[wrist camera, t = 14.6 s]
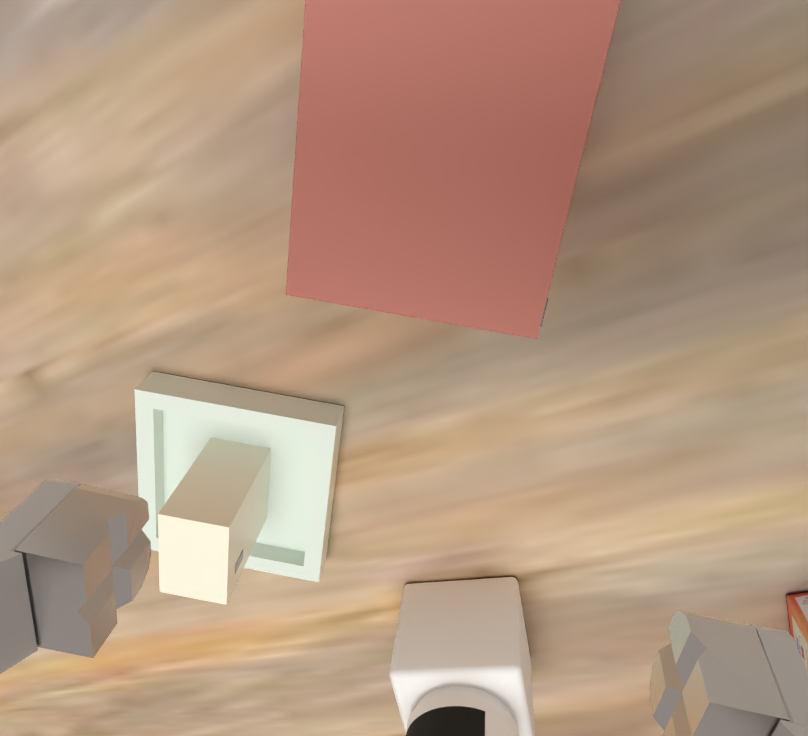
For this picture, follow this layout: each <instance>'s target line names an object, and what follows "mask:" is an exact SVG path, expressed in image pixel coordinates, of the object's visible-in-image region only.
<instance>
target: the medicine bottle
mask: <svg viewBox="0 0 808 736" xmlns="http://www.w3.org/2000/svg"><path fill="white" fill-rule="evenodd" d="M390 679H391V683H392V686H393V690H394V693H395V697H396V700H397V704H398V708H399V711H400V715H401V718H402V722H403V726H404V729H405V733H406V736H535V732H534V714H533V695H532V677H531V659H530V653H529V646H528V640H527V634H526V628H525V622H524V616H523V610H522V603H521V597H520V591H519V585H518V581H517V579H516V578H514V577H503V578H488V579H473V580H458V581H443V582H428V583H413V584H406V585H405V586H404V589H403V595H402V601H401V607H400V613H399V619H398V625H397V631H396V637H395V643H394V649H393V655H392V661H391V667H390Z"/></svg>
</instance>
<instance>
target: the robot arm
mask: <svg viewBox="0 0 808 736" xmlns="http://www.w3.org/2000/svg"><path fill="white" fill-rule="evenodd" d="M148 520H149V510H148V502H147V501H146V500H144V499H143V498H141V497H137V496H133V495H128V494H124V493H120V492H116V491H111V490H107V489H103V488H99V487H94V486H90V485H86V484H83V485H82V484H78V483H74V482H70V481H66V480H62V479H58V478H51V479H48V480H45V481H44V482H42V483H41V484H40V485H39V486H38V487H37V488H36V489H35V490H34V491H33V492H32V493H31V494H30V495H29V496H28V497H27V498H26V499H24V500H23V501H22V502H21V503H20V504H19V505H18V506H17V507H16V508H15V509H14V510H13V511H12V512H11V513H10V514H9V515H8V516H7V517H6V518H4V519H3V520H2V521H1V522H0V674H1V673H2V672H4V671H6V670H7V669H9V668H10V667H12V666H13V665H15V664H17V663H18V662H20V661H21V660H23V659H25V658H26V657H28V656H29V655H31V654H32V653H34V652H36V651H37V650H38V648H37V647H41V648H46V649H51V650H56V651H61V652H66V653H71V654H76V655H81V656H86V657H91V658H94V656H95V655H96V653H97V652H98V650H99V649H100V647H101V646H102V644H103V643H104V642H105V640H106V639H107V637H108V636H109V634H110V633H111V631H112V630H113V628H114V627H115V625H116V624H117V614H116V609H117V608H119V607H121V606H123V605H125V604H127V603H129V602H131V601H132V600H133V599H134V597H135V596H136V594H137V593H138V591H139V590H140V588H141V587H142V584H143V582H144V579H145V576H146V574H147V571H148V569H149V563H150V556H151V541H150V540H149V538H148V537H147V536H146V535H145V533H144V532H143V531H142V528H143V527H144V525H145V524H146V523H147V521H148ZM668 632H669V636H670V641H671V644H669V645H667V646H666V647H664V648H662V649H660V650H659V651H658V654H657V656H656V659H655V662H654V664H653V668H652V675H651V682H650V701H651V707H652V714H653V717H654V718H655V720H656V721H657V722H658V723H659V725H660V726H661V727H662V728H663V729H664V733H663V735H662V736H808V671H807V669H806V667H805V664H804V662H803V660H802V658H801V655H800V653H799V651H798V648H797V646H796V644H795V641H794V639H793V637H792V636H791V635H790V634H789V633H788V632H787V631H784V630H779V629H774V628H768V627H763V626H758V625H753V624H749V625H748V624H745V623H740V622H735V621H730V620H725V619H721V618H716V617H711V616H706V615H701V614H696V613H691V612H686V611H681V610H679V611H678V612H677V613H676V614H675V615H674V616H673V618H672V621H671V623H670V625H669V627H668Z"/></svg>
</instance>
